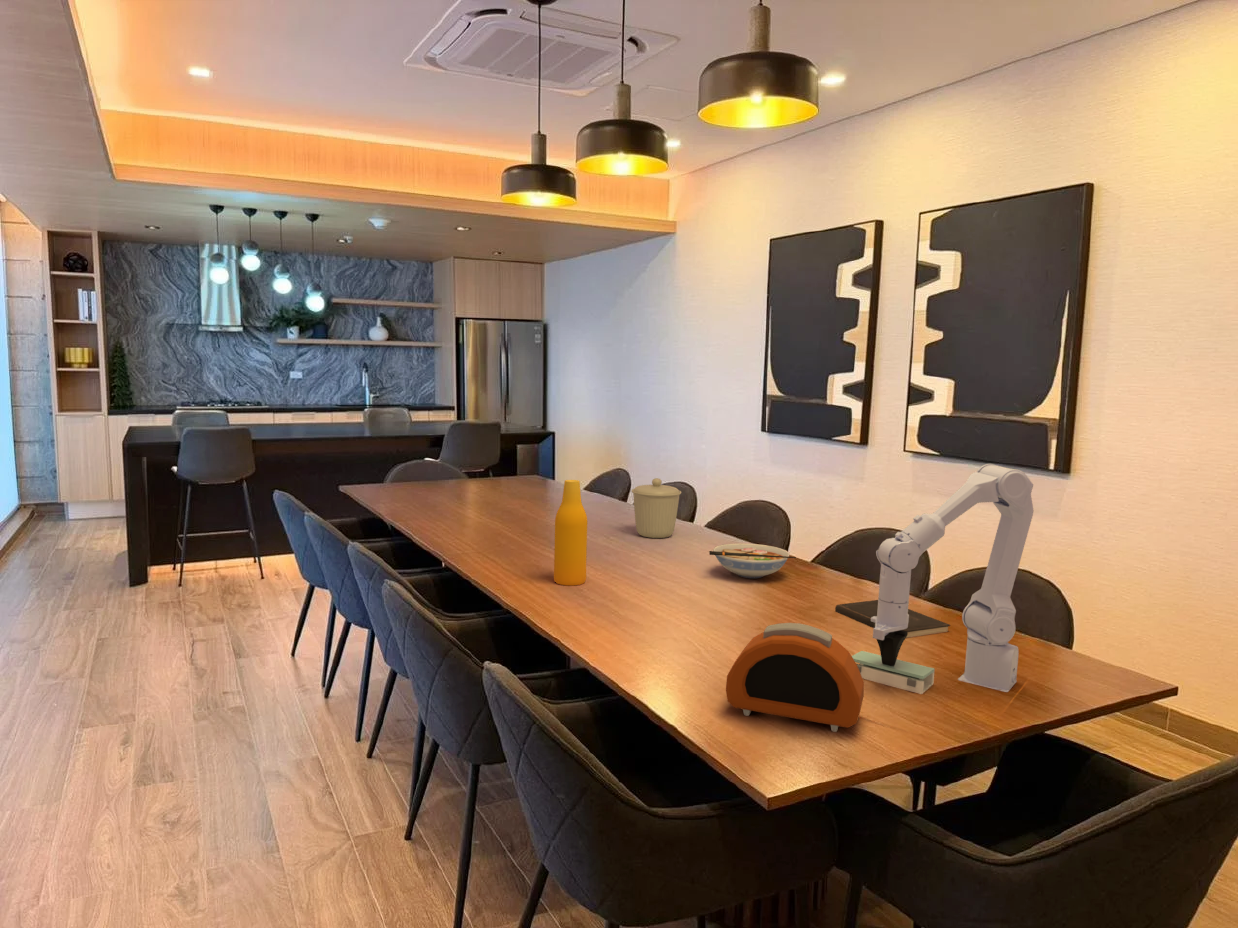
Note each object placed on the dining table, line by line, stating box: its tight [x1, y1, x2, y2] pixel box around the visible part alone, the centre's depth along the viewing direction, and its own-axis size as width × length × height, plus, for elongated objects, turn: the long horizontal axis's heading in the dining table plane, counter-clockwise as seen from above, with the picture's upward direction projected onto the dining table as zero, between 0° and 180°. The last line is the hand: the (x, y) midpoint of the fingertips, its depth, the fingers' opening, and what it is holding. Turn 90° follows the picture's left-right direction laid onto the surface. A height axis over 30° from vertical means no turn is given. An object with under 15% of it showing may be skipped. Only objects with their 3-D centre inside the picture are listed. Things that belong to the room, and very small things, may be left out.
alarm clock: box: [725, 622, 865, 733], centre depth 148 cm, size 23×9×17 cm, turn 69°
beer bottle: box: [553, 479, 588, 587], centre depth 233 cm, size 9×9×29 cm
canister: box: [631, 477, 682, 539], centre depth 300 cm, size 18×18×21 cm
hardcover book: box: [834, 599, 951, 639], centre depth 207 cm, size 16×23×2 cm
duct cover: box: [851, 650, 935, 679], centre depth 166 cm, size 15×7×1 cm, turn 52°
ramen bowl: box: [708, 542, 797, 579], centre depth 247 cm, size 25×23×8 cm
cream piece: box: [856, 663, 935, 695], centre depth 166 cm, size 15×8×3 cm, turn 52°
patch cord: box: [863, 664, 919, 679], centre depth 166 cm, size 11×2×2 cm, turn 52°
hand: (888, 665), depth 165 cm, fingers closed, pressing on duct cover
